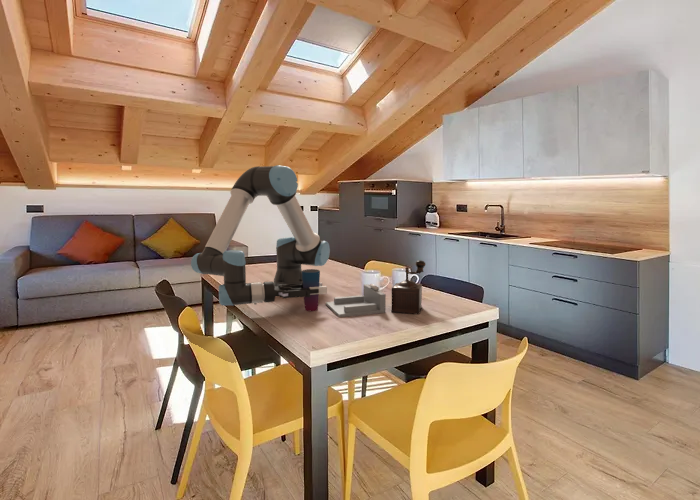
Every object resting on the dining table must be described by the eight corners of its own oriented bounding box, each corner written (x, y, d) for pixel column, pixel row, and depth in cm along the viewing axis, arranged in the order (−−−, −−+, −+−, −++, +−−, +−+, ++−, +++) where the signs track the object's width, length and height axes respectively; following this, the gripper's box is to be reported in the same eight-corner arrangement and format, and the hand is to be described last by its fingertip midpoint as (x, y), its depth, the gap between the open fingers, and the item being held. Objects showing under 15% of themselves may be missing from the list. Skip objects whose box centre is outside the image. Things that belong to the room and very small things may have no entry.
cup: (317, 312, 156) (317, 272, 154) (300, 311, 157) (299, 272, 155) (322, 307, 162) (322, 269, 160) (305, 306, 163) (305, 268, 161)
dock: (325, 304, 166) (325, 283, 165) (368, 300, 172) (368, 280, 171) (338, 317, 149) (338, 293, 148) (385, 312, 155) (385, 290, 154)
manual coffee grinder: (420, 315, 153) (421, 266, 150) (390, 312, 156) (391, 264, 153) (425, 304, 167) (426, 259, 165) (397, 302, 170) (398, 258, 168)
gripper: (260, 296, 162) (318, 292, 169) (266, 309, 144) (331, 303, 152) (259, 277, 161) (318, 273, 168) (266, 287, 143) (331, 283, 151)
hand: (324, 287), depth 160 cm, fingers closed on cup, 6 cm apart
